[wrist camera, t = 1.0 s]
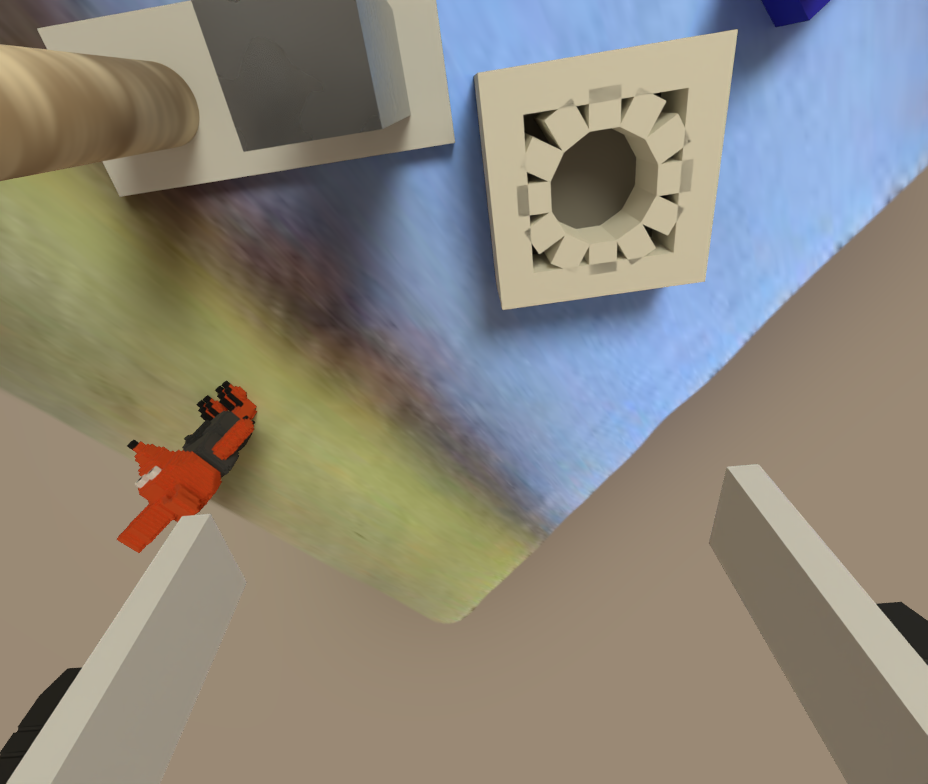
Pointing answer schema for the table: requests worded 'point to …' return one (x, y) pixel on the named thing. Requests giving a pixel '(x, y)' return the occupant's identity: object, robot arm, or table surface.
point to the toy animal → (189, 465)
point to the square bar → (305, 67)
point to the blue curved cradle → (792, 10)
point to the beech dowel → (87, 109)
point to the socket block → (604, 168)
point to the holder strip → (216, 141)
